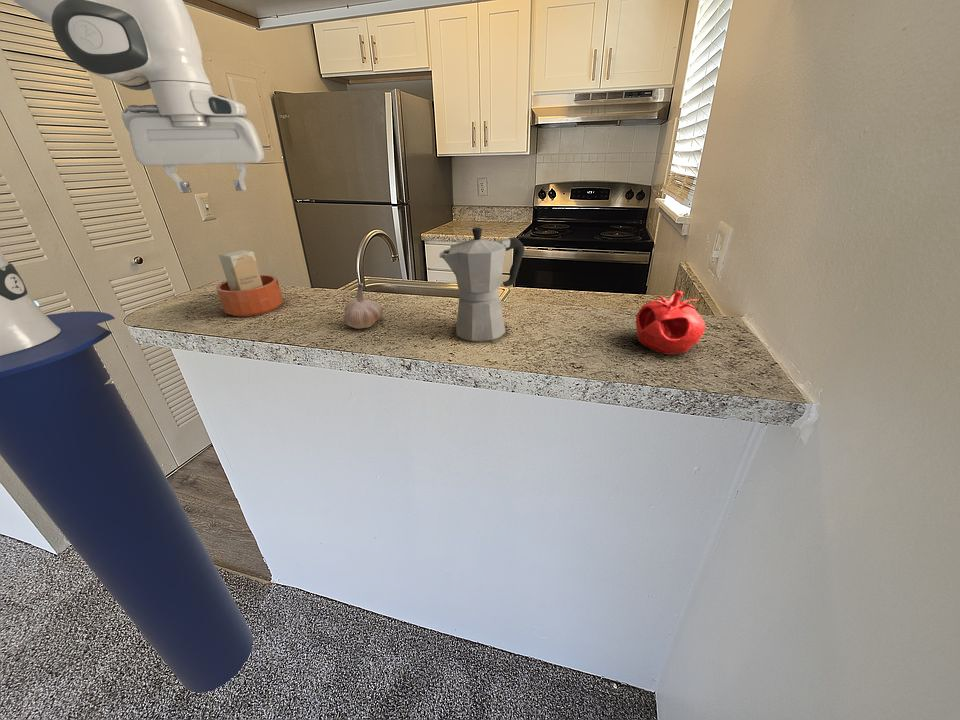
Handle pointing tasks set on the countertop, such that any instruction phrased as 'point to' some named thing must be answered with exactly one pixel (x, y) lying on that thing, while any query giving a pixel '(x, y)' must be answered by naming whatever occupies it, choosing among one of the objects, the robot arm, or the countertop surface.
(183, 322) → the countertop surface
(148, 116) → the robot arm
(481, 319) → the coffeepot
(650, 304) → the pomegranate
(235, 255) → the box
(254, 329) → the countertop surface
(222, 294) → the bowl
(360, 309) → the garlic bulb
